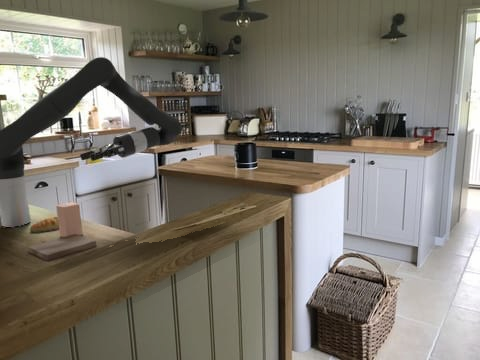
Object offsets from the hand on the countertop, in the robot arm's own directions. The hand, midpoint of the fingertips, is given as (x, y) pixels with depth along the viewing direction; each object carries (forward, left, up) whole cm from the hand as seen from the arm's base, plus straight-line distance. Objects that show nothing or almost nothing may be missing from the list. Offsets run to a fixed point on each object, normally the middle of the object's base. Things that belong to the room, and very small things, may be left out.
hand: (85, 157), depth 130 cm
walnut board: (+10, -15, -24) cm, 30 cm away
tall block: (-1, -7, -24) cm, 25 cm away
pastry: (-16, -8, -25) cm, 30 cm away
